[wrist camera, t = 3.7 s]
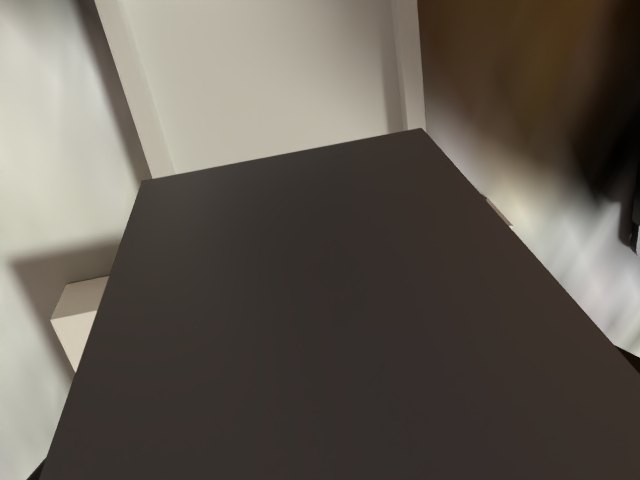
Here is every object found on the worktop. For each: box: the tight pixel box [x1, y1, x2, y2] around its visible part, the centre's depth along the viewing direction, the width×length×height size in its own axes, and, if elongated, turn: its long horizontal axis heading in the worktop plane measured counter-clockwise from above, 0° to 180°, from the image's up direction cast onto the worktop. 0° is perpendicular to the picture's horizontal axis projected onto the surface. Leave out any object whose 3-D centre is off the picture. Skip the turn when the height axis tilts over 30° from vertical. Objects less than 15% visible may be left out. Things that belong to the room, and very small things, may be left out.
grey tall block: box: [39, 128, 640, 480], centre depth 7 cm, size 4×4×8 cm
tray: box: [94, 0, 427, 179], centre depth 19 cm, size 9×9×1 cm
